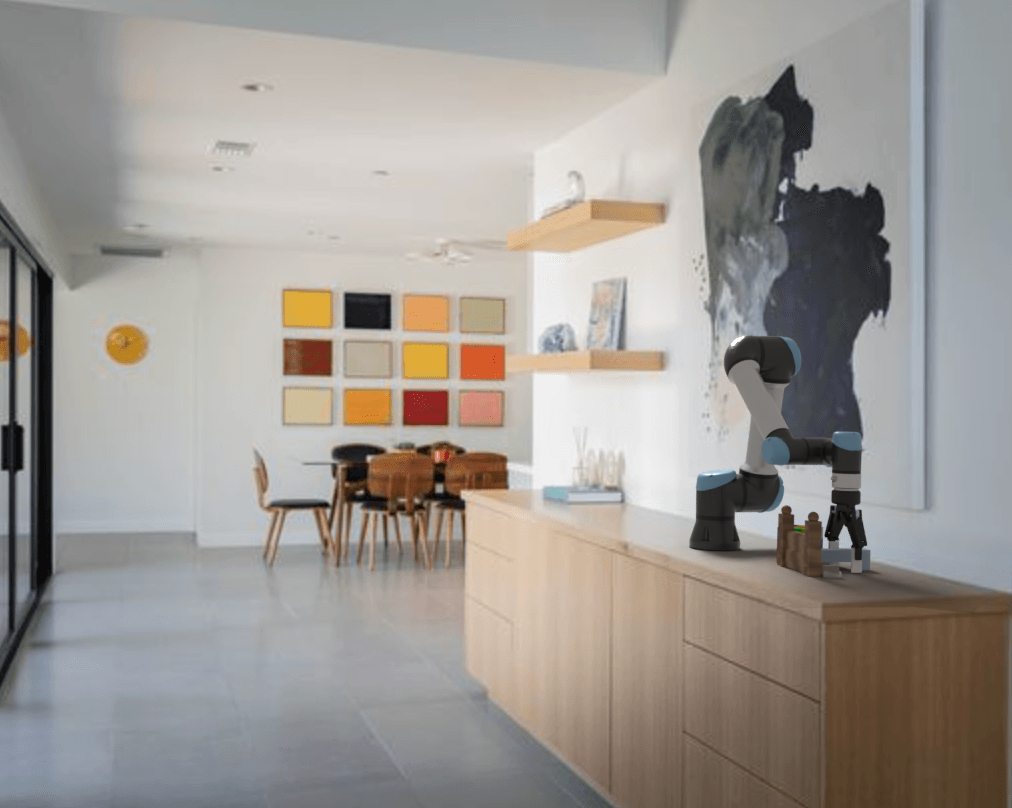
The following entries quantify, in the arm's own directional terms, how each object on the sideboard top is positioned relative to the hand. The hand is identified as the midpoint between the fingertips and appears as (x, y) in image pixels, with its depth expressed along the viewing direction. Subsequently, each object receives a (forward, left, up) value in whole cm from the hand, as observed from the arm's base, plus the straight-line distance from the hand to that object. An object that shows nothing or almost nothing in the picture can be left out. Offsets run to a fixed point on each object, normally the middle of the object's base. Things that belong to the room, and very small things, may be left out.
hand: (844, 568), depth 312 cm
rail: (0, -2, 0) cm, 2 cm away
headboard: (+2, -11, 0) cm, 11 cm away
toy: (-13, -7, -1) cm, 15 cm away
